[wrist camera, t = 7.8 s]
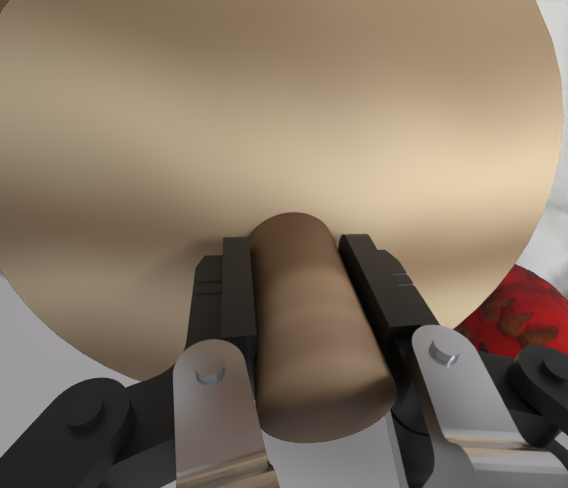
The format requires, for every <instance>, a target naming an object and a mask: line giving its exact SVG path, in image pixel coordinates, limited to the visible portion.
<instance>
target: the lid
mask: <svg viewBox="0 0 568 488" xmlns="http://www.w3.org/2000/svg"><path fill="white" fill-rule="evenodd" d="M562 129H563V101H562V86H561V76H560V72H559V68H558V63H557V59H556V55H555V50H554V46H553V42H552V38H551V36H550V34H549V31H548V29H547V27H546V24H545V22H544V19H543V17H542V15H541V12H540V10H539V8H538V5H537V3H536V0H10V1H9V2H8V3H7V5H6V6H5V7H4V9H3V10H2V12H1V14H0V269H1V271H2V273H3V274H4V276H5V277H6V279H7V280H8V282H9V283H10V285H11V286H12V288H13V289H14V291H15V292H16V293H17V294H18V295H19V296H20V298H21V299H22V300H23V301H24V302H25V303H26V304H27V306H28V307H29V308H30V309H31V310H32V312H33V313H34V314H35V315H36V316H37V317H38V318H39V319H40V320H42V321H43V322H44V323H45V324H46V325H47V326H48V327H49V328H50V329H51V330H53V331H54V332H55V333H56V334H57V335H58V336H60V337H61V338H62V339H64V340H65V341H67V342H68V343H69V344H71V345H72V346H73V347H75V348H76V349H78V350H79V351H80V352H82V353H83V354H85V355H87V356H88V357H90V358H92V359H94V360H95V361H97V362H99V363H101V364H102V365H104V366H106V367H108V368H110V369H113V370H115V371H117V372H119V373H121V374H123V375H126V376H128V377H130V378H133V379H136V380H138V381H141V382H142V381H145V380H148V379H150V378H153V377H155V376H158V375H160V374H161V373H163V372H165V371H166V370H168V369H169V368H170V367H171V366H172V365H174V364H175V363H176V361H177V359H178V358H179V357H180V355H181V354H182V353H183V351H184V348H185V345H186V339H187V331H188V323H189V315H190V307H191V299H192V291H193V285H194V275H195V268H196V266H197V265H198V264H199V262H200V261H201V260H202V258H203V257H204V256H208V255H223V237H249V247H250V259H251V271H252V284H253V296H254V308H255V320H256V332H257V354H256V364H255V367H254V389H255V399H254V400H255V403H256V411H257V415H258V419H259V424H260V427H261V429H262V430H263V431H264V432H266V433H267V434H269V435H270V436H272V437H274V438H277V439H280V440H283V441H288V442H295V443H316V442H325V441H331V440H336V439H339V438H343V437H346V436H349V435H352V434H355V433H357V432H360V431H362V430H363V429H365V428H368V427H369V426H371V425H373V424H374V423H376V422H377V421H379V420H380V419H381V418H382V417H383V416H385V415H386V414H387V413H388V412H389V410H390V409H391V408H392V406H393V405H394V403H395V401H396V398H397V386H396V383H395V381H394V379H393V376H392V374H391V372H390V369H389V367H388V365H387V363H386V360H385V358H384V356H383V353H382V351H381V349H380V346H379V344H378V342H377V339H376V337H375V335H374V332H373V330H372V328H371V325H370V323H369V321H368V318H367V316H366V314H365V311H364V309H363V307H362V304H361V302H360V300H359V298H358V295H357V293H356V291H355V288H354V286H353V284H352V281H351V279H350V277H349V274H348V272H347V270H346V267H345V265H344V263H343V260H342V258H341V256H340V253H339V251H338V245H339V240H340V237H341V235H342V234H368V235H369V236H370V238H371V239H372V241H373V243H374V244H375V246H376V248H377V250H386V251H387V252H389V253H390V254H391V255H392V256H394V257H395V258H396V259H398V260H399V262H400V263H401V265H402V266H403V268H404V269H405V271H406V274H407V275H408V276H409V277H410V279H411V280H412V282H413V286H415V287H416V288H417V290H418V291H419V293H420V294H421V296H422V297H423V299H424V301H425V302H426V304H427V305H428V307H429V308H430V310H431V311H432V313H433V315H434V316H435V318H436V319H437V321H438V322H439V324H440V325H441V326H444V327H447V328H450V329H454V328H455V327H456V326H458V325H459V324H460V323H461V322H462V321H463V320H464V319H466V318H467V317H468V316H469V315H470V314H471V313H472V312H473V311H475V310H476V309H477V308H478V307H479V306H480V305H481V304H482V303H483V302H484V300H485V299H486V298H487V297H488V296H489V295H490V294H491V293H492V292H493V291H494V290H495V289H496V288H497V286H498V285H499V284H500V283H501V281H502V280H503V279H504V277H505V276H506V275H507V274H508V272H509V271H510V270H511V268H512V267H513V266H514V264H515V263H516V261H517V260H518V258H519V256H520V255H521V253H522V252H523V250H524V249H525V247H526V245H527V244H528V242H529V241H530V239H531V236H532V234H533V232H534V230H535V228H536V226H537V224H538V222H539V220H540V218H541V216H542V214H543V212H544V209H545V206H546V203H547V200H548V198H549V195H550V192H551V189H552V186H553V183H554V179H555V174H556V170H557V165H558V161H559V156H560V152H561V141H562Z"/></svg>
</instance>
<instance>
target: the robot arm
mask: <svg viewBox="0 0 568 488" xmlns="http://www.w3.org/2000/svg"><path fill="white" fill-rule="evenodd" d="M338 251H339V253H340V256H341V258H342V260H343V263H344V265H345V267H346V270H347V272H348V274H349V277H350V279H351V281H352V284H353V286H354V288H355V291H356V293H357V295H358V298H359V300H360V302H361V304H362V307H363V309H364V311H365V314H366V316H367V318H368V321H369V323H370V325H371V328H372V330H373V332H374V335H375V337H376V339H377V342H378V344H379V346H380V349H381V351H382V353H383V356H384V358H385V360H386V363H387V365H388V367H389V369H390V372H391V374H392V376H393V379H394V381H395V383H396V386H397V398H396V401H395V403H394V405H393V406H392V408H391V409H390V410H389V412H388V413H387V414H386V415H385V421H386V426H387V430H388V434H389V439H390V444H391V449H392V453H393V458H394V463H395V467H396V472H397V476H398V481H399V486H400V488H568V450H567V449H565V448H564V447H563V446H562V445H560V444H559V443H558V442H557V441H556V440H555V438H556V437H557V436H558V435H559V434H560V433H561V432H562V431H563V432H564V433H566V434H567V435H568V356H567V355H566V354H564V353H562V352H560V351H558V350H555V349H553V348H550V347H547V346H542V345H529V346H526V347H524V348H522V350H521V351H520V352H519V353H518V355H517V356H516V358H510V357H505V356H500V355H495V354H491V353H486V352H481V351H477V350H476V349H475V347H474V346H473V345H472V343H471V342H470V341H469V340H468V339H467V338H465V337H464V336H463V335H461V334H460V333H458V332H456V331H454V330H452V329H450V328H447V327H444V326H441V325H440V324H439V322H438V321H437V319H436V318H435V316H434V315H433V313H432V311H431V310H430V308H429V307H428V305H427V304H426V302H425V301H424V299H423V297H422V296H421V294H420V293H419V291H418V290H417V288H416V287H415V286H413V282H412V280H411V279H410V277H409V276H408V275H407V274H406V271H405V269H404V268H403V266H402V265H401V263H400V262H399V260H398V259H396V258H395V257H394V256H392V255H391V254H390V253H389V252H387V251H386V250H377V248H376V246H375V244H374V243H373V241H372V239H371V238H370V236H369V235H368V234H342V235H341V237H340V240H339V245H338ZM256 354H257V332H256V320H255V308H254V296H253V284H252V271H251V259H250V247H249V237H223V255H208V256H204V257H203V258H202V260H201V261H200V262H199V264H198V265H197V266H196V268H195V275H194V285H193V291H192V299H191V307H190V315H189V323H188V331H187V339H186V345H185V348H184V351H183V353H182V354H181V355H180V357H179V358H178V359H177V361H176V363H175V364H174V365H172V366H171V367H170V368H169V369H168V370H166V371H165V372H163V373H161V374H160V375H158V376H155V377H153V378H150V379H148V380H145V381H142V382H140V383H137V384H134V385H132V386H129V387H126V388H125V387H124V386H123V385H122V384H121V383H119V382H118V381H116V380H114V379H110V378H93V379H89V380H85V381H82V382H80V383H77V384H75V385H73V386H71V387H70V388H68V389H67V390H65V391H64V392H63V393H62V394H60V395H59V396H58V397H57V398H56V399H55V400H54V401H53V402H52V403H51V404H50V405H49V406H48V407H47V408H46V409H45V410H44V411H43V412H42V413H41V415H40V416H39V417H38V418H37V419H36V420H35V421H34V422H33V423H32V424H31V425H30V426H29V428H28V429H27V430H26V431H25V432H24V433H23V434H22V435H21V436H20V437H19V438H18V440H17V441H16V442H15V443H14V444H13V445H12V446H11V447H10V448H9V449H8V450H7V451H6V453H5V454H4V455H3V456H2V457H1V458H0V488H161V487H163V486H165V485H166V484H169V483H171V482H173V481H175V480H177V481H176V488H280V486H279V483H278V479H277V476H276V473H275V470H274V468H273V466H272V465H271V464H270V463H269V460H268V457H267V453H266V450H265V445H264V441H263V437H262V432H261V428H260V424H259V419H258V415H257V411H256V406H255V402H254V399H255V389H254V367H255V364H256Z"/></svg>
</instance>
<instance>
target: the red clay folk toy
mask: <svg viewBox="0 0 568 488" xmlns="http://www.w3.org/2000/svg"><path fill="white" fill-rule="evenodd" d="M452 330H454V331H456V332H458V333H460V334H461V335H463V336H464V337H465V338H467V339H468V340H469V341H470V342H471V343H472V345H473V346H474V347H475V349H476V350H477V351H481V352H486V353H491V354H495V355H500V356H505V357H510V358H516V356H517V355H518V353H519V352H520V351H521V350H522V348H524V347H526V346H529V345H542V346H547V347H550V348H553V349H555V350H558V351H560V352H562V353H564V354H566V355H567V356H568V300H567V299H566V298H565V297H563V296H562V295H561V293H560V292H559V291H558V290H557V289H556V288H555V287H553V286H552V285H551V284H550V283H548V282H547V281H545V280H544V279H542V278H540V277H539V276H537V275H536V274H535V273H533V272H532V271H530V270H527V269H525V268H523V267H521V266H518V265H516V264H514V266H513V267H512V268H511V270H510V271H509V272H508V274H507V275H506V276H505V277H504V279H503V280H502V281H501V283H500V284H499V285H498V286H497V288H496V289H495V290H494V291H493V292H492V293H491V294H490V295H489V296H488V297H487V298H486V299H485V300H484V302H483V303H482V304H481V305H480V306H479V307H478V308H477V309H476V310H475V311H473V312H472V313H471V314H470V315H469V316H468V317H467V318H466V319H464V320H463V321H462V322H461V323H460V324H459V325H458V326H456V327H455V328H454V329H452Z"/></svg>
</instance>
